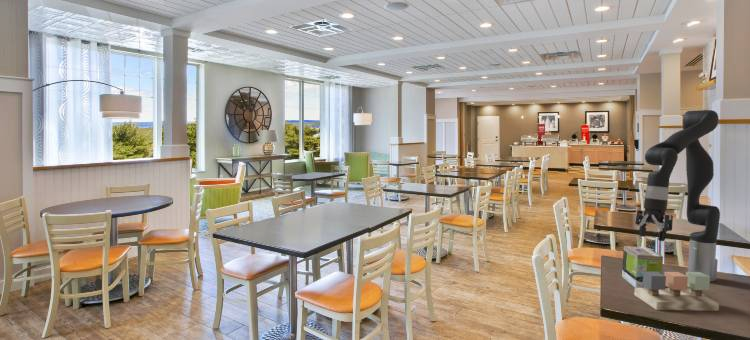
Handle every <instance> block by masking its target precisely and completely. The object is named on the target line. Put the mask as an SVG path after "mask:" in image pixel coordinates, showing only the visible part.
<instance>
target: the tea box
mask: <svg viewBox="0 0 750 340" xmlns="http://www.w3.org/2000/svg"><path fill="white" fill-rule="evenodd" d="M622 254H623V255H622V273H621V277H622V278H623V279H624V280H625V281H626V282H628V283H629V284H630V285H631V286H632V287H634V289H635V288H648V287H646V286H644V285H643V272H659V273H661V274H663V263H664V256H663V255H661V254H660V253H658V252H656V251H655V250H653V249H651V248H649V247H647V246H646V247H645V246H634V245H633V246H632V245H631V246H630V245H624V246H623V253H622Z"/></svg>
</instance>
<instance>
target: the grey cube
mask: <svg viewBox="0 0 750 340" xmlns="http://www.w3.org/2000/svg"><path fill="white" fill-rule="evenodd" d="M643 285H644V286H646V287H648V288H649V289H651V290H665V288H666V286H665V285H666V276H664V274H663V273H662V274H661V273H659V272H643Z"/></svg>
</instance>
